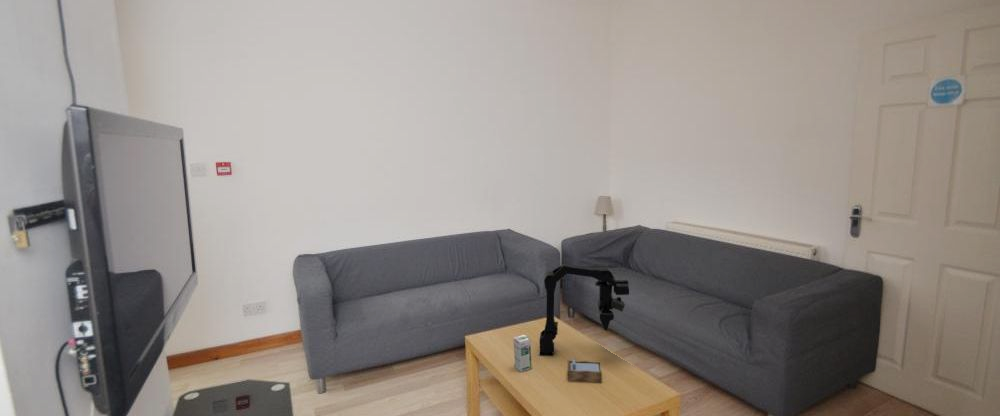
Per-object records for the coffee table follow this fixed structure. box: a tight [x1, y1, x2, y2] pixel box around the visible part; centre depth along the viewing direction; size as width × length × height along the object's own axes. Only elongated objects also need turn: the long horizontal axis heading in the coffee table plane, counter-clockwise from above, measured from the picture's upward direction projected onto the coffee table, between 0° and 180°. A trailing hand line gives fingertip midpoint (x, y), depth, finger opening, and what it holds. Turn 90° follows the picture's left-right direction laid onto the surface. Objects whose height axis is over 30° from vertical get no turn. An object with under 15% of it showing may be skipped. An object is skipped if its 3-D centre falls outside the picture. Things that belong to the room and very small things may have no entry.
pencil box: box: [567, 359, 602, 383], centre depth 193 cm, size 14×9×5 cm, turn 82°
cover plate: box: [571, 358, 599, 371], centre depth 193 cm, size 12×7×3 cm, turn 82°
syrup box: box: [512, 334, 533, 373], centre depth 201 cm, size 6×6×14 cm
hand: (605, 326), depth 209 cm, fingers open, 9 cm apart
